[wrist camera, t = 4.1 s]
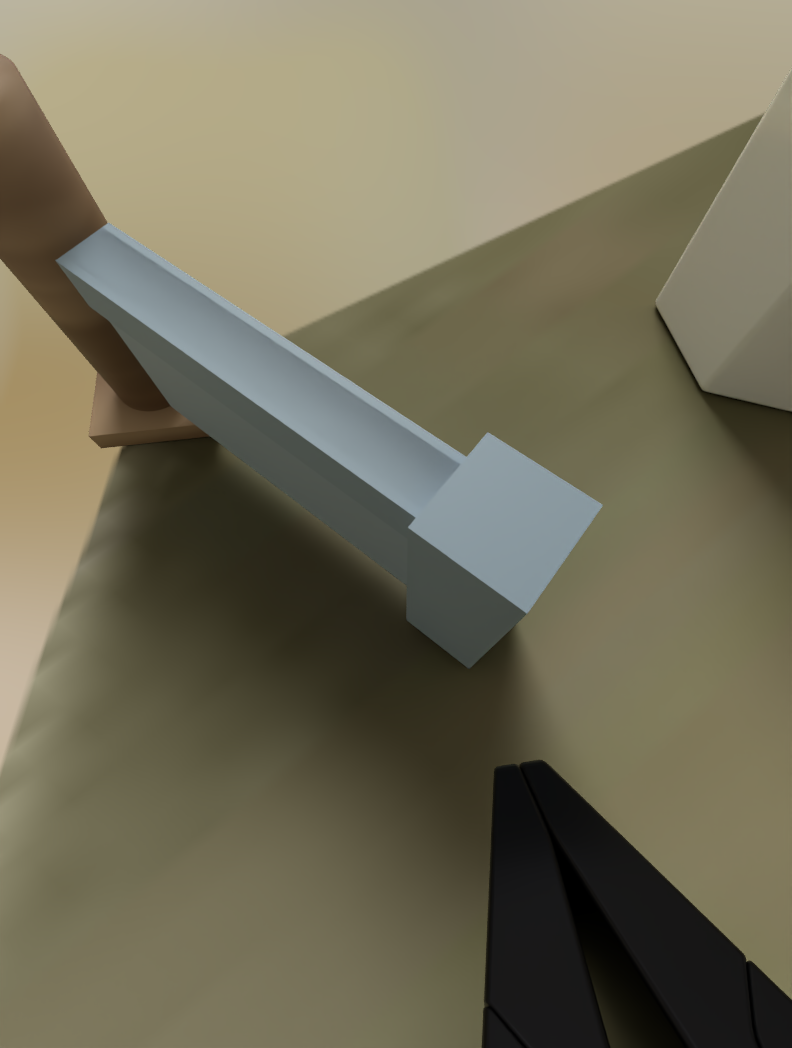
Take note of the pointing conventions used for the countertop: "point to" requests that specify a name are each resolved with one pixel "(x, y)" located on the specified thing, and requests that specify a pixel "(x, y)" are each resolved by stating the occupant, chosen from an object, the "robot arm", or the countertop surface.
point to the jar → (742, 274)
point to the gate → (344, 450)
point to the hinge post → (30, 252)
